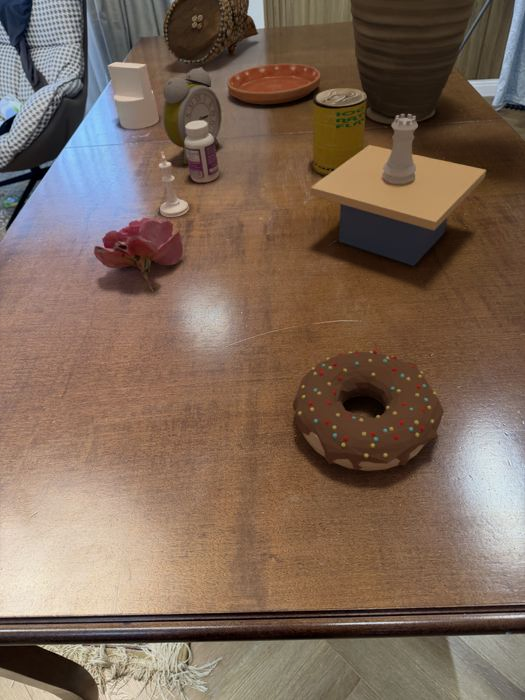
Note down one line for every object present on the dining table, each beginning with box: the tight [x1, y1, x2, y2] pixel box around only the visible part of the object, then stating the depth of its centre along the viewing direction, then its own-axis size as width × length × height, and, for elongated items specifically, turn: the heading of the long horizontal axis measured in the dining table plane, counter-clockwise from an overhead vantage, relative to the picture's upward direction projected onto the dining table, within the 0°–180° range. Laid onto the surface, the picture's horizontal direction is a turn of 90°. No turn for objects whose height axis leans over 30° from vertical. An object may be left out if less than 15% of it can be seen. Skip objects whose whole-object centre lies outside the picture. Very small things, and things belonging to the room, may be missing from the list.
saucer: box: [226, 63, 321, 105], centre depth 125 cm, size 23×23×4 cm
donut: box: [292, 350, 444, 472], centre depth 49 cm, size 14×14×5 cm
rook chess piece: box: [382, 114, 419, 185], centre depth 66 cm, size 4×4×8 cm
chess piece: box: [158, 150, 190, 218], centre depth 83 cm, size 5×5×10 cm
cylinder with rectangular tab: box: [107, 61, 160, 130], centre depth 114 cm, size 9×9×12 cm
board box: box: [310, 144, 487, 267], centre depth 72 cm, size 18×16×9 cm
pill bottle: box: [184, 120, 220, 184], centre depth 91 cm, size 5×5×10 cm
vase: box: [350, 0, 476, 125], centre depth 101 cm, size 25×24×30 cm
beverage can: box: [312, 87, 367, 176], centre depth 89 cm, size 9×9×12 cm
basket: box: [162, 0, 260, 66], centre depth 149 cm, size 24×22×35 cm
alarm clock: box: [162, 66, 222, 165], centre depth 97 cm, size 12×7×15 cm, turn 143°
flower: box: [93, 217, 184, 293], centre depth 71 cm, size 11×10×10 cm
